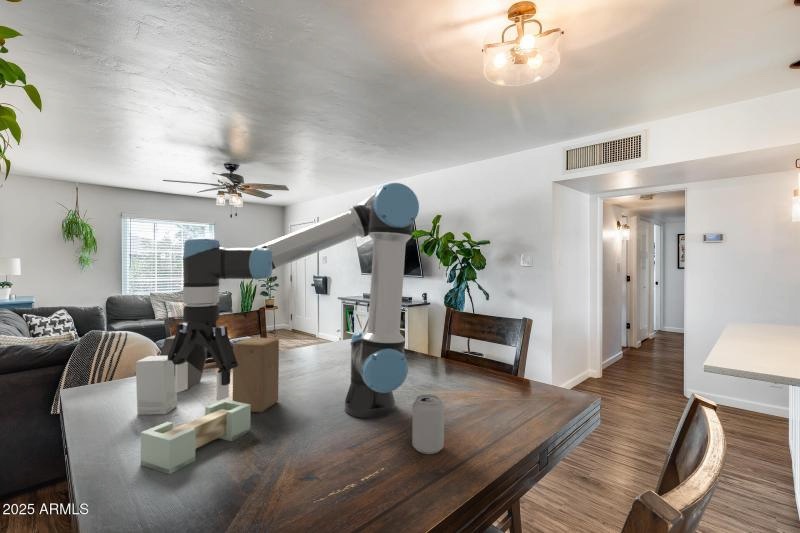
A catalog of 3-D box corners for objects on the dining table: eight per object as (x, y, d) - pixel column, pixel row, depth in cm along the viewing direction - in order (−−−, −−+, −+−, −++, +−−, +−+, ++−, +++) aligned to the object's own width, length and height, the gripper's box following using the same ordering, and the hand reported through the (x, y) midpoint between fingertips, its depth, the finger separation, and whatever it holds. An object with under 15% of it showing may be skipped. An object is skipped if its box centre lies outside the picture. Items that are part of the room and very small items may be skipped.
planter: (175, 383, 122) (193, 323, 133) (150, 383, 121) (170, 323, 132) (196, 397, 136) (210, 341, 147) (173, 397, 135) (190, 341, 147)
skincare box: (177, 406, 115) (178, 354, 114) (164, 415, 108) (165, 360, 108) (149, 406, 114) (149, 354, 114) (134, 415, 108) (135, 360, 108)
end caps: (224, 425, 102) (224, 399, 102) (250, 431, 98) (250, 404, 98) (140, 464, 82) (140, 432, 82) (169, 474, 78) (169, 440, 78)
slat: (221, 428, 98) (221, 408, 98) (231, 430, 97) (231, 411, 97) (160, 457, 83) (161, 434, 83) (171, 460, 82) (172, 437, 82)
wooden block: (261, 414, 110) (262, 344, 110) (230, 411, 112) (231, 342, 112) (279, 401, 120) (280, 338, 120) (250, 399, 122) (251, 336, 122)
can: (424, 437, 96) (425, 390, 96) (449, 447, 92) (450, 397, 92) (405, 448, 91) (406, 398, 90) (431, 459, 86) (432, 406, 86)
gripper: (254, 305, 88) (254, 397, 89) (179, 300, 98) (179, 383, 98) (228, 308, 82) (227, 408, 82) (150, 303, 91) (150, 392, 92)
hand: (201, 394), depth 90 cm, fingers open, 13 cm apart
